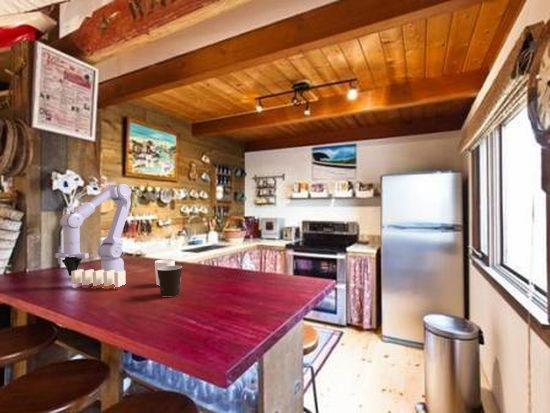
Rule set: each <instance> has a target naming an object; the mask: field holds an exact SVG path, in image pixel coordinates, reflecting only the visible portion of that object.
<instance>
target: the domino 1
mask: <svg viewBox="0 0 550 413" xmlns="http://www.w3.org/2000/svg"><path fill="white" fill-rule="evenodd" d="M82 271H85V270H84V268H79V269H78V268H77V270H74V271H71V276H70V279H71V285H72V284H79V283H82Z"/></svg>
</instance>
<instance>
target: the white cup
mask: <svg viewBox="0 0 550 413" xmlns="http://www.w3.org/2000/svg"><path fill="white" fill-rule="evenodd" d="M175 262H176V260H175V259H172V258H171V259H167V258H166V259H158V260H155V261H154V270H155V283H156V286H157V285H159V279H158V272H157V268H160V267H164V266H176V264H175Z"/></svg>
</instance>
